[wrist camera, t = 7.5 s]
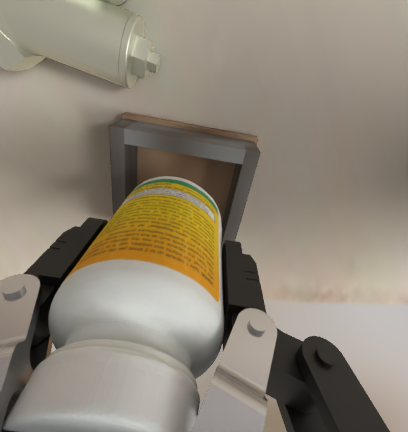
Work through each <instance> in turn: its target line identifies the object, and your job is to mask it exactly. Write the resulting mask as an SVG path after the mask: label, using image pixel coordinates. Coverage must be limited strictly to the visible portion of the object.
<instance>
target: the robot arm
mask: <svg viewBox="0 0 408 432" xmlns="http://www.w3.org/2000/svg"><path fill="white" fill-rule="evenodd" d="M107 223H108V221H107V220H102V219H96V218H88V219H87V220H86V221H85V222H84V223H83V224H82V226H81V227H76V226H75V227H73V228H71V229H69V230H67V231H66V232H64V233H63V234H62V235H61V236H60V237H59V238H58V239H57V240H56V242H54V243H53V244H52V245H51V246H50V248H49V249H47V250H46V251H45V252H44V253H43V254H42V255H41V256H40V258H39V259H38V260H37V261H36V262H35V263H34V264H33V265H32V266H31V267H30V268H29V269H28V270H27V271H26V272H25V273H24V274H19V275H14V276H10V277H8V278H5V279H3V280H1V281H0V432H14V431H5V430H3V428H2V427H3V425H4V423H5V421H6V419H7V417H8V415H9V414H10V412H11V410H12V408H13V406H14V405H15V403H16V401H17V399H18V398H19V396H20V394H21V393H22V391H23V389H24V388H25V386H26V384H27V383H28V381H29V379H30V377H31V375H32V373H33V371H34V370H35V368H36V367H37V366H38V365H39V364H40V363H41V362H42V361H44V360H45V359H47V357H48V356H49V355H50V354H51V348H52V343H53V342H52V339H51V336H50V332H49V325H48V317H49V311H50V306H51V303H52V301H53V299H54V296H55V294H56V292H57V291H58V289H59V288H60V286H61V284H62V283H63V281H64V280H65V279H66V277H67V276H68V275H69V274H70V272H71V271H72V270H73V269H74V267H75V266H76V265H77V263H78V262H79V261H80V259H81V258H82V256H83V255H84V254H85V252H86V251H87V250H88V248H89V247H90V246H91V244H92V243H93V242H94V240H95V239H96V238H97V236H98V235H99V234H100V232H101V231H102V230H103V228H104V227H105V226H106V225H107ZM222 270H223V299H224V335H223V342H222V344H223V354H222V356H221V359H220V362H219V364H218V366H217V369H216V371H215V373H214V376H213V378H212V381H211V383H210V386H209V388H208V391H207V393H206V395H205V398H204V400H203V403H202V406H201V408H200V410H199V413H198V415H197V418H196V420H195V423H194V425H193V428H192V430H191V432H263V429H264V423H265V418H266V413H267V399H266V398H265V394H267V395H269V396H271V397H273V398H275V399H276V400H277V403H278V406H279V409H280V412H281V415H282V418H283V421H284V424H285V427H286V430H287V432H390V431H389V429H388V428H387V426H386V425H385V423H384V421H383V420H382V418H381V416H380V415H379V413H378V412H377V410H376V408H375V407H374V405H373V404H372V402H371V400H370V399H369V397H368V395H367V394H366V392H365V391H364V389H363V387H362V386H361V384H360V382H359V381H358V379H357V377H356V376H355V374H354V373H353V371H352V369H351V368H350V366H349V365H348V363H347V361H346V360H345V358H344V357H343V355H342V353H341V352H340V351H339V350H338V349H337V348H336V347H335V346H334V345H333V344H332V343H331V342H329V341H327V340H326V339H323V338H321V337H317V336H311V337H308V338H306V339H305V340H304V342H303V341H300V340H298V339H296V338H294V337H292V336H290V335H287V334H285V333H283V332H282V331H280V330H279V329H278V328H276V325H275V323H274V321H273V320H272V319H271V318H270V317H269V316H268V315H267V313H266V310H265V305H264V300H263V295H262V290H261V285H260V282H259V275H258V271H257V266H256V263H255V261H254V260H253V258H252V257H251V256H250V255H247V254H242V248H241V243H240V242H235V241H229V240H224V243H223V246H222Z"/></svg>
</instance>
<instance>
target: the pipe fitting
mask: <svg viewBox="0 0 408 432" xmlns="http://www.w3.org/2000/svg"><path fill="white" fill-rule="evenodd" d="M125 1H126V0H0V67H1V68H3V69H4V70H6V71H22V70H27V69H31V68H32V67H34V66H35V65H36V64H38V63H39V62H41V61H42V60H43V59H45V58H46V57H47V58H50V59H52V60H55V61H58V62H60V63H63V64H66V65H68V66H71V67H73V68H76V69H79V70H81V71H84V72H87V73H89V74H92V75H95V76H97V77H100V78H102V79H105V80H108V81H110V82H113V83H116V84H118V85H121V86H124V87H126V88H132V87H133V85H134V84H135V82H136V80H137V77H141V78H147V77H148V75H149V72H150V71H151V72H153V73H157V72H158V70H159V66H160V61H161V55H159V54H157V53H154V42H152V41H150V40H148V39H145V25H144V20H143V18H142V17H141V16H139V15H137V14H135V13H132V12H130V11H128V10H126V9H123V8H121V7H119V6H116V5H121V4H122V3H123V2H125ZM114 4H115V5H114Z"/></svg>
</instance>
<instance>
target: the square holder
mask: <svg viewBox="0 0 408 432" xmlns="http://www.w3.org/2000/svg"><path fill="white" fill-rule="evenodd" d="M109 137H110V157H111V178H112V198H113V215H114V214H115V213H116V211H117V210H118V209H119V208H120V206H121V205H122V203H123V202H124V201H125V199H126V198H127V197H128V196H129V195H130V193H131V192H132V191H133V190H134V189H135V188H136V187H137V186H139V185H140V184H141V183H143V182H144V181H147V180H149V179H152V178H156V177H163V176H172V177H179V178H183V179H186V180H189V181H191V182H193V183H195V184H196V185H198V186H199V187H201V188H202V189H203V190H205V191H206V192H207V193H208V194H209V195H210V196H211V197H212V198H213V200H214V201H215V203H216V205H217V207H218V209H219V212H220V216H221V226H222V246H223V243H224V240H229V241H235V239H236V235H237V232H238V228H239V225H240V222H241V218H242V215H243V211H244V208H245V204H246V201H247V197H248V194H249V191H250V187H251V184H252V180H253V177H254V173H255V170H256V167H257V163H258V160H259V156H260V151H259V149H258V148H257V146H256V145H257V142H258V138H257V136H252V135H247V134H241V133H236V132H230V131H225V130H219V129H214V128H208V127H203V126H197V125H192V124H186V123H181V122H175V121H169V120H164V119H158V118H153V117H147V116H142V115H136V114H131V113H124V114H122V120H121V121H119V122H117V123H114V124H112V125H110V126H109Z"/></svg>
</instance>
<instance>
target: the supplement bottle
mask: <svg viewBox="0 0 408 432" xmlns="http://www.w3.org/2000/svg"><path fill="white" fill-rule="evenodd" d="M48 325H49V332H50V336H51V339H52V342H53V344H54V346H55V348H56V349H57V350H55V351H54V352H52V353H51V354H50V355H49V356H48V357H47V359H45V360H44V361H42V362H41V363H40V364H39V365H38V366H37V367H36V368H35V370H34V371H33V373H32V375H31V377H30V379H29V381H28V383H27V384H26V386H25V388H24V389H23V391H22V393H21V394H20V396H19V398H18V399H17V401H16V403H15V405H14V406H13V408H12V410H11V412H10V414H9V415H8V417H7V419H6V421H5V423H4V425H3V427H2V428H3V430H5V431H14V432H191V430H192V428H193V425H194V423H195V420H196V418H197V415H198V409H199V403H200V398H199V394H198V391H197V384H196V380H195V379H196V378H197V377H199V376H201V375H202V374H203V373H204V372H205V371H206V370H207V369H208V368H209V367H210V366H211V365H212V364H213V362H214V361H215V359H216V357H217V355H218V353H219V351H220V348H221V345H222V342H223V335H224V299H223V270H222V226H221V216H220V212H219V209H218V207H217V205H216V203H215V201H214V200H213V198H212V197H211V196H210V195H209V194H208V193H207V192H206V191H205V190H203V189H202V188H201V187H199V186H198V185H196V184H195V183H193V182H191V181H189V180H186V179H183V178H179V177H172V176H163V177H156V178H152V179H149V180H147V181H144V182H143V183H141V184H140V185H139V186H137V187H136V188H135V189H134V190H133V191H132V192H131V193H130V195H129V196H128V197H127V198H126V199H125V201H124V202H123V203H122V205H121V206H120V208H119V209H118V210H117V211H116V213H115V214H114V215H113V217H112V218H111V219H110V221H109V222H108V223H107V225H106V226H105V227H104V228H103V230H102V231H101V232H100V234H99V235H98V236H97V238H96V239H95V240H94V242H93V243H92V244H91V246H90V247H89V248H88V250H87V251H86V252H85V254H84V255H83V256H82V258H81V259H80V261H79V262H78V263H77V265H76V266H75V267H74V269H73V270H72V271H71V272H70V274H69V275H68V276H67V277H66V279H65V280H64V281H63V283H62V284H61V286H60V288H59V289H58V291H57V292H56V294H55V296H54V299H53V301H52V303H51V306H50V311H49V317H48Z"/></svg>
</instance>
